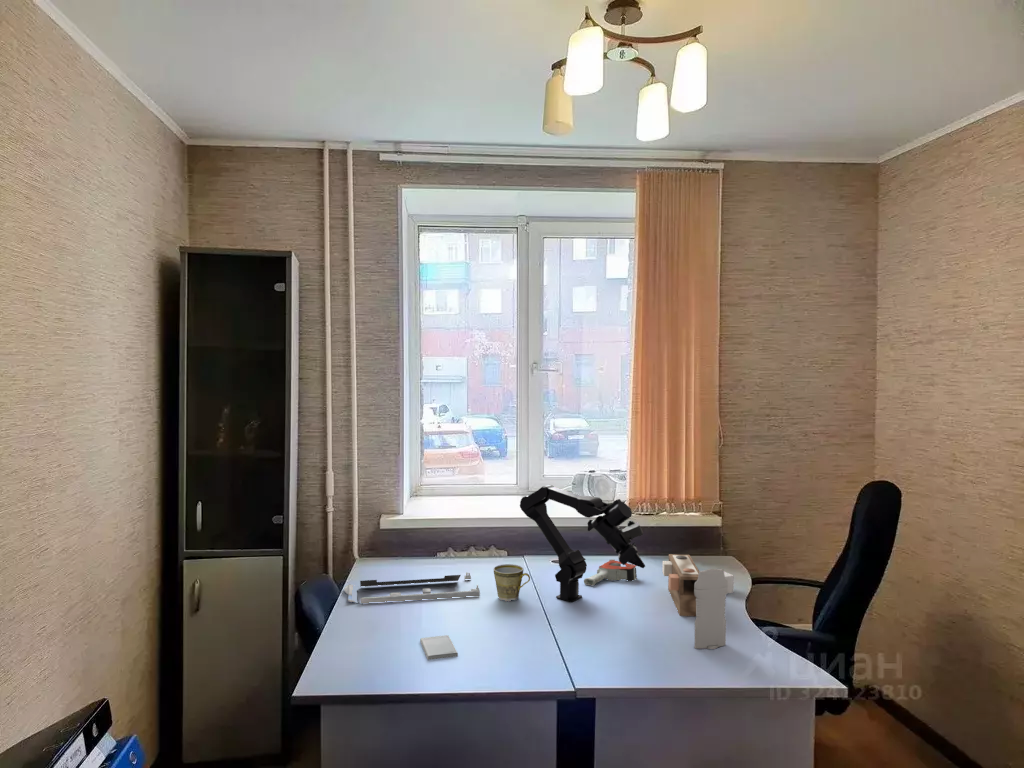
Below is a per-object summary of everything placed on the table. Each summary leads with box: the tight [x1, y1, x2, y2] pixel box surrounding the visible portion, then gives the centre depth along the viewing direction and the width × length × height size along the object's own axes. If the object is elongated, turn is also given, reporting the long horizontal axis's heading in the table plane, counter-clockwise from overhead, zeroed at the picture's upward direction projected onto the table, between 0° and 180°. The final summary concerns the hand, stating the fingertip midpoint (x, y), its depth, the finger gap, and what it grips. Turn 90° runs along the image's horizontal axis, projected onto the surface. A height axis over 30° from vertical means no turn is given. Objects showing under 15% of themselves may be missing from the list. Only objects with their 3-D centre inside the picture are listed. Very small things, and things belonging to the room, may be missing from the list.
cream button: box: [662, 560, 672, 577], centre depth 233 cm, size 4×4×4 cm
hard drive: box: [419, 634, 459, 661], centre depth 189 cm, size 2×8×12 cm
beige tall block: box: [693, 568, 728, 650], centre depth 191 cm, size 11×4×22 cm, turn 106°
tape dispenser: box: [583, 558, 638, 587], centre depth 250 cm, size 18×5×20 cm
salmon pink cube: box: [669, 574, 679, 591], centre depth 219 cm, size 4×4×4 cm
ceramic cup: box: [493, 563, 531, 602], centre depth 228 cm, size 13×10×10 cm
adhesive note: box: [724, 571, 735, 594], centre depth 237 cm, size 6×6×6 cm
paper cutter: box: [343, 572, 481, 603], centre depth 235 cm, size 18×45×6 cm, turn 102°
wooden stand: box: [667, 553, 700, 617], centre depth 226 cm, size 7×24×13 cm, turn 176°
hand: (644, 567), depth 220 cm, fingers closed
